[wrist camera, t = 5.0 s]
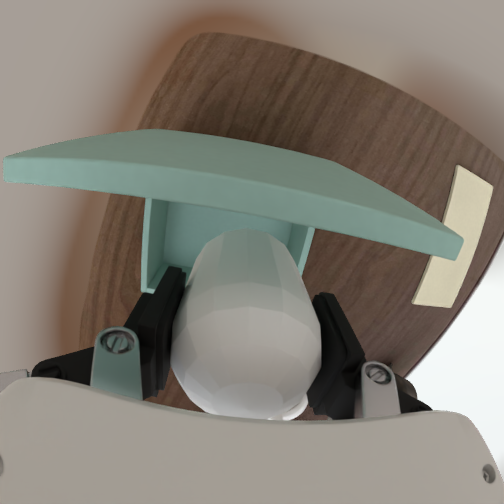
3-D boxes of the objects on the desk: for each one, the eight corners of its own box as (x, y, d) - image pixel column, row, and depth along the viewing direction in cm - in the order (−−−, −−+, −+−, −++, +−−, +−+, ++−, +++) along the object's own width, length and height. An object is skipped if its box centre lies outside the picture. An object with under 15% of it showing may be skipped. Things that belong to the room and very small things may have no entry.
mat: (455, 164, 26) (458, 164, 26) (490, 185, 27) (493, 186, 27) (411, 301, 33) (412, 304, 33) (449, 306, 34) (451, 308, 34)
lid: (456, 262, 7) (466, 239, 6) (2, 182, 5) (2, 157, 5) (331, 171, 20) (333, 161, 20) (151, 138, 19) (153, 128, 18)
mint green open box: (280, 284, 32) (288, 317, 25) (159, 263, 30) (140, 291, 24) (311, 161, 27) (331, 165, 20) (174, 136, 25) (154, 133, 19)
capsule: (268, 331, 15) (283, 455, 8) (180, 299, 14) (139, 422, 7) (314, 253, 14) (379, 368, 6) (216, 210, 13) (180, 306, 5)
